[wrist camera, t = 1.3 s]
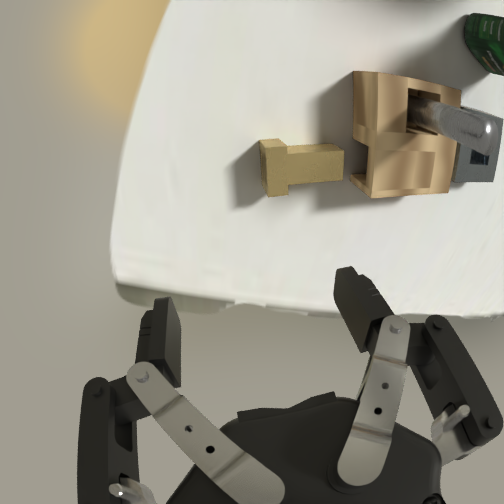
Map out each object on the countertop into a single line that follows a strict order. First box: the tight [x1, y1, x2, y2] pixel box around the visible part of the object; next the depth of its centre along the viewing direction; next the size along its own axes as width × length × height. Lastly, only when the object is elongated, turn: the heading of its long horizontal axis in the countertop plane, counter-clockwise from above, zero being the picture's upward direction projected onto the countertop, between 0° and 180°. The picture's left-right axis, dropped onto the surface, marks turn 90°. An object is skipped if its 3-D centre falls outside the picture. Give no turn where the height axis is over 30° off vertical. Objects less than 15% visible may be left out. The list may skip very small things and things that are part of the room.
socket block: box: [350, 71, 461, 198], centre depth 26 cm, size 12×13×5 cm
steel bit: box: [407, 94, 498, 156], centre depth 20 cm, size 3×3×13 cm
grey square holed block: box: [451, 105, 503, 182], centre depth 28 cm, size 10×10×4 cm
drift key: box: [259, 138, 344, 197], centre depth 28 cm, size 5×8×3 cm, turn 95°
